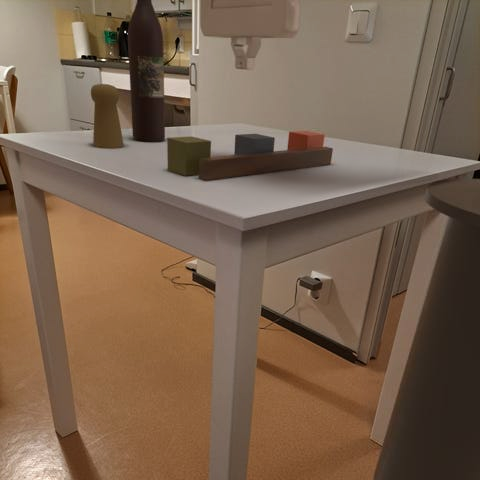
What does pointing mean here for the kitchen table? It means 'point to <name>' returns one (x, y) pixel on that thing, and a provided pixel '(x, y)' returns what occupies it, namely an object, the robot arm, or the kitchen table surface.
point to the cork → (106, 117)
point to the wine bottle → (146, 73)
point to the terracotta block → (304, 140)
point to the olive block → (186, 154)
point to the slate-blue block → (253, 144)
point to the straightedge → (262, 162)
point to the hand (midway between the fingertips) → (244, 69)
